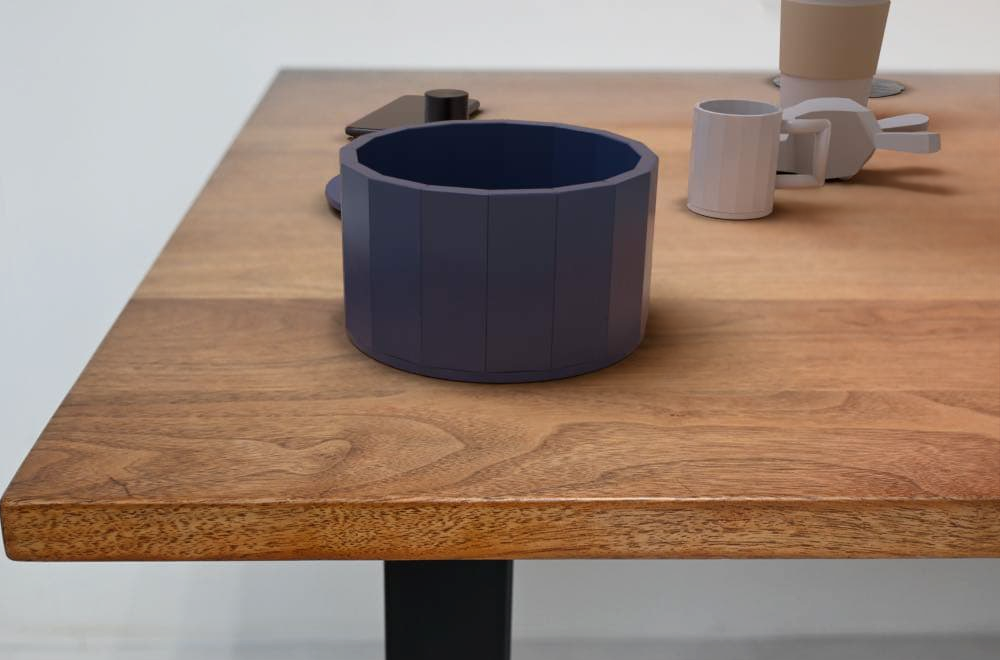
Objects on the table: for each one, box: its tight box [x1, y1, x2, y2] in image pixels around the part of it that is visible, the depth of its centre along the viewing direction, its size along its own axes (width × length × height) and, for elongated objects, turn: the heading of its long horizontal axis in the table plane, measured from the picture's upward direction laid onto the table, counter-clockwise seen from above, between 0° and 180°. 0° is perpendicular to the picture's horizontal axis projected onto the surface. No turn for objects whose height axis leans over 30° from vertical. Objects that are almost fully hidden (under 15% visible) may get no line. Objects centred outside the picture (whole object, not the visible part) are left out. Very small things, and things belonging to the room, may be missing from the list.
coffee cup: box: [778, 0, 892, 109], centre depth 103 cm, size 9×9×15 cm
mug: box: [686, 98, 831, 220], centre depth 80 cm, size 9×5×6 cm, turn 97°
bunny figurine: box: [777, 98, 942, 181], centre depth 88 cm, size 10×5×15 cm
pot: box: [338, 118, 660, 384], centre depth 60 cm, size 15×15×8 cm
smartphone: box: [344, 94, 481, 138], centre depth 103 cm, size 7×1×15 cm
